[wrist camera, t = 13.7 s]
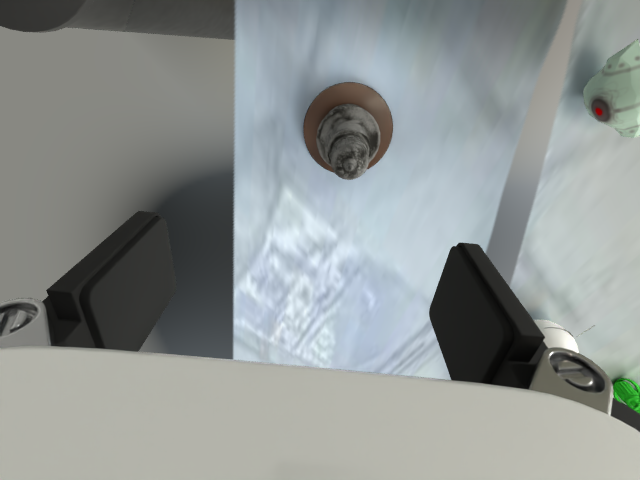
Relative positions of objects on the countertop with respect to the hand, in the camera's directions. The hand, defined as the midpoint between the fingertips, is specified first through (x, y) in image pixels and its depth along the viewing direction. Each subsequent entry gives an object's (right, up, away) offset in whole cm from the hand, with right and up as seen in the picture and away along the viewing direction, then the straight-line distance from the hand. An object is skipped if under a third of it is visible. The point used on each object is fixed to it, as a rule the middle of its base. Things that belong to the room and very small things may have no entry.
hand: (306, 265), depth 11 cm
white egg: (+31, -11, +35) cm, 47 cm away
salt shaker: (+3, +12, +23) cm, 26 cm away
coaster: (+3, +12, +23) cm, 26 cm away
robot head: (+26, +15, +20) cm, 36 cm away
